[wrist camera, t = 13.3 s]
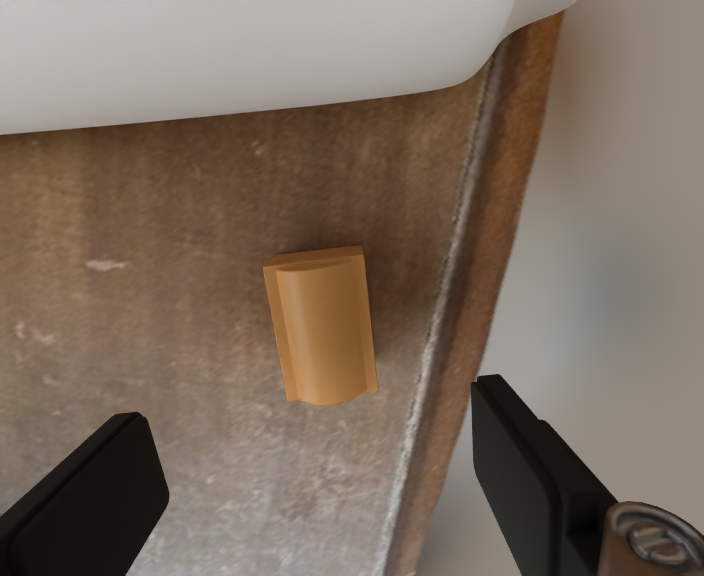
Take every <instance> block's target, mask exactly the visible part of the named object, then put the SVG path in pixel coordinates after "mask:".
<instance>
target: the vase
mask: <svg viewBox="0 0 704 576" xmlns="http://www.w3.org/2000/svg"><path fill="white" fill-rule="evenodd" d="M576 1H578V0H0V135H4V134H16V133H28V132H40V131H52V130H64V129H75V128H87V127H98V126H109V125H120V124H132V123H142V122H153V121H164V120H174V119H185V118H195V117H205V116H216V115H226V114H236V113H246V112H256V111H266V110H276V109H286V108H295V107H305V106H314V105H323V104H333V103H341V102H350V101H358V100H367V99H375V98H383V97H391V96H398V95H405V94H412V93H419V92H425V91H432V90H438V89H442V88H447V87H451V86H454V85H457V84H460V83H463V82H465V81H466V80H468V79H470V78H471V77H472V76H474V75H475V74H476V73H477V72H478V71H479V70H480V69H481V68H482V67H483V65H484V64H485V63H486V62H487V60H488V59H489V58H490V56H491V55H492V54H493V52H494V51H495V49H496V48H497V46H498V44H499V43H500V42H501V41H502V40H503V39H504V38H505V37H507V36H508V35H509V34H511V33H512V32H514V31H515V30H517V29H519V28H521V27H523V26H525V25H527V24H530V23H532V22H535V21H537V20H540V19H543V18H546V17H548V16H551V15H553V14H556V13H558V12H560V11H562V10H564V9H566V8H568V7H569V6H571V5H572V4H574V3H575V2H576Z"/></svg>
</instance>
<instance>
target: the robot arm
mask: <svg viewBox="0 0 704 576" xmlns="http://www.w3.org/2000/svg"><path fill="white" fill-rule="evenodd" d="M471 405H472V436H473V462H474V469H475V473H476V476H477V478H478V481H479V483H480V485H481V487H482V489H483V491H484V494H485V496H486V498H487V500H488V502H489V504H490V507H491V509H492V511H493V513H494V516H495V518H496V519H497V522H498V524H499V526H500V529H501V531H502V533H503V535H504V537H505V540H506V542H507V544H508V546H509V548H510V551H511V553H512V555H513V557H514V559H515V561H516V564H517V566H518V568H519V570H520V572H521V575H522V576H704V535H702V534H701V533H700V532H699V531H698V530H696V529H695V528H694V527H693V526H692V525H691V524H689V523H688V522H686V521H684V520H683V519H681V518H680V517H678V516H676V515H675V514H672V513H671V512H668V511H666V510H664V509H662V508H659V507H657V506H653V505H650V504H646V503H642V502H631V501H626V502H621V503H619V502H618V501H617V500H616V499H615V497H614V496H613V495H612V494H611V493H610V492H609V491H608V490H607V488H606V487H605V486H604V485H603V484H602V483H601V482H600V481H599V479H598V478H597V477H596V476H595V475H594V474H593V473H592V472H591V471H590V469H589V468H588V467H587V466H586V465H585V464H584V463H583V461H582V460H581V459H580V458H579V457H578V456H577V455H576V454H575V453H574V452H573V451H572V449H571V448H570V447H569V446H568V445H567V444H566V442H565V441H564V440H563V439H562V438H561V437H560V436H559V435H558V433H557V432H556V431H555V430H554V429H553V428H552V427H551V426H550V424H548V423H547V422H546V421H544V420H539V419H537V417H536V416H535V415H534V414H533V412H532V411H531V410H530V409H529V408H528V406H527V405H526V404H525V403H524V402H523V401H522V399H521V398H520V397H519V396H518V395H517V394H516V393H515V391H514V390H513V389H512V388H511V387H510V386H509V384H508V383H507V382H506V381H505V380H504V379H503V377H502V376H501V375H499V374H495V375H485V376H478V377H477V382H472V383H471ZM168 502H169V490H168V487H167V483H166V480H165V477H164V473H163V470H162V467H161V463H160V460H159V457H158V453H157V450H156V447H155V443H154V440H153V437H152V433H151V430H150V427H149V423H148V420H147V419H146V418H145V417H143V416H142V415H141V414H140V413H138V412H131V413H121V414H115V415H114V416H112V417H111V418H110V419H109V420H108V421H107V422H105V423H104V424H103V425H102V426H101V427H100V428H99V429H98V430H97V431H95V432H94V433H93V434H92V435H91V436H90V437H89V438H88V439H87V440H85V441H84V442H83V443H82V444H81V445H80V446H79V447H78V448H77V449H75V450H74V451H73V452H72V453H71V454H70V455H69V456H68V457H66V458H65V459H64V460H63V461H62V462H61V463H60V464H59V465H58V466H56V467H55V468H54V469H53V470H52V471H51V472H50V473H49V474H48V475H46V476H45V477H44V478H43V479H42V480H41V481H40V482H39V483H38V484H36V485H35V486H34V487H33V488H32V489H31V490H30V491H29V492H28V493H26V494H25V495H24V496H23V497H22V498H21V499H20V500H19V501H18V502H16V503H15V504H14V505H13V506H12V507H11V508H10V509H9V510H8V511H6V512H5V513H4V514H3V515H2V516H1V517H0V576H125V575H126V573H127V572H128V570H129V569H130V567H131V565H132V564H133V562H134V560H135V559H136V557H137V555H138V554H139V552H140V550H141V549H142V547H143V545H144V544H145V542H146V540H147V539H148V537H149V535H150V534H151V532H152V530H153V529H154V527H155V525H156V524H157V522H158V521H159V519H160V517H161V516H162V514H163V512H164V511H165V509H166V507H167V505H168Z"/></svg>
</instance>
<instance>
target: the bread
mask: <svg viewBox="0 0 704 576" xmlns="http://www.w3.org/2000/svg"><path fill="white" fill-rule="evenodd" d="M263 272H264V277H265V283H266V288H267V293H268V299H269V304H270V309H271V315H272V320H273V325H274V331H275V336H276V341H277V347H278V352H279V357H280V363H281V368H282V373H283V379H284V384H285V389H286V395H287V400H288V401H298V400H303V401H305V402H307V403H310V404H314V405H335V404H340V403H344V402H347V401H350V400H352V399H354V398H356V397H358V396H360V395H361V394H363V393H372V392H378V382H377V373H376V364H375V354H374V345H373V336H372V326H371V317H370V307H369V298H368V289H367V279H366V270H365V261H364V254H363V250H362V246H361V245H355V246H346V247H338V248H329V249H321V250H312V251H303V252H295V253H286V254H278V255H276V256H275V257H274V258H272V259H271V260H270V261H269V262H268V263H266V264H265V265H264V266H263Z"/></svg>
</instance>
